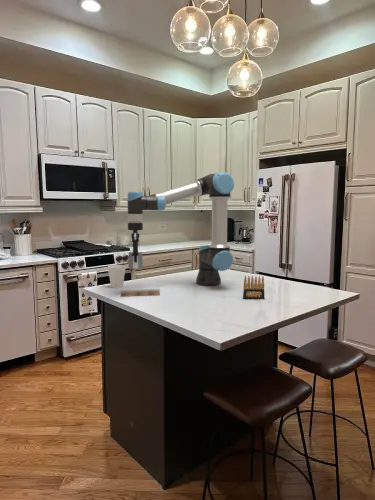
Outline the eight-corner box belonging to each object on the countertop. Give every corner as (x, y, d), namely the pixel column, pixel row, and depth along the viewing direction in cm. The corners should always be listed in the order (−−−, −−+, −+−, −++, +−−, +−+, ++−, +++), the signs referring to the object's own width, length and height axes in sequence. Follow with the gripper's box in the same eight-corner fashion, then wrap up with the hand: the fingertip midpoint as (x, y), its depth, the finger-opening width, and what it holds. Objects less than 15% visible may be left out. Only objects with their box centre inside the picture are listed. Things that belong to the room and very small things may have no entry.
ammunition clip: (263, 298, 182) (264, 275, 180) (264, 299, 180) (265, 275, 178) (242, 298, 182) (243, 275, 180) (243, 299, 180) (243, 275, 179)
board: (158, 292, 194) (158, 289, 194) (160, 298, 181) (160, 295, 181) (121, 293, 191) (121, 290, 191) (120, 299, 179) (120, 296, 178)
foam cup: (113, 291, 195) (112, 268, 193) (105, 288, 202) (105, 266, 200) (128, 289, 201) (128, 266, 199) (120, 286, 208) (120, 264, 206)
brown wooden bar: (159, 291, 189) (159, 289, 188) (159, 292, 186) (159, 290, 186) (121, 293, 186) (121, 290, 186) (120, 294, 184) (120, 291, 183)
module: (142, 267, 187) (142, 252, 186) (142, 268, 182) (142, 253, 181) (127, 267, 186) (127, 252, 185) (127, 268, 181) (127, 253, 180)
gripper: (128, 221, 189) (128, 264, 192) (127, 223, 172) (127, 270, 175) (142, 221, 190) (142, 264, 193) (142, 223, 173) (143, 270, 176)
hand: (135, 267), depth 184 cm, fingers closed on module, 5 cm apart
